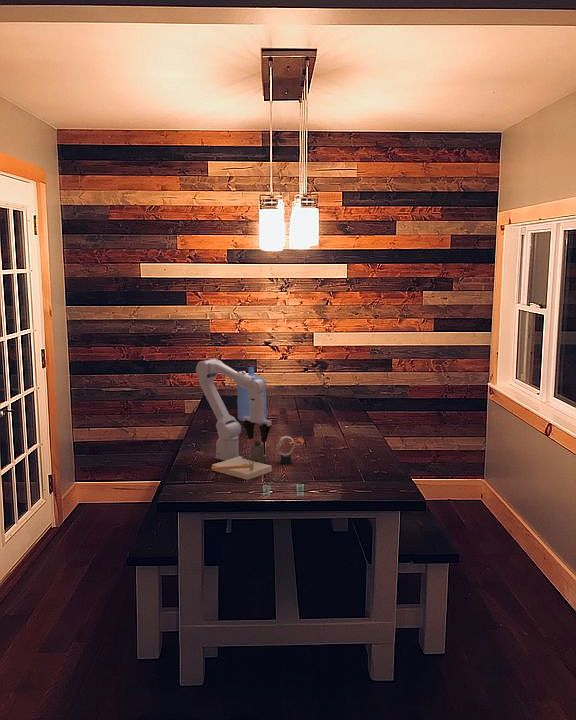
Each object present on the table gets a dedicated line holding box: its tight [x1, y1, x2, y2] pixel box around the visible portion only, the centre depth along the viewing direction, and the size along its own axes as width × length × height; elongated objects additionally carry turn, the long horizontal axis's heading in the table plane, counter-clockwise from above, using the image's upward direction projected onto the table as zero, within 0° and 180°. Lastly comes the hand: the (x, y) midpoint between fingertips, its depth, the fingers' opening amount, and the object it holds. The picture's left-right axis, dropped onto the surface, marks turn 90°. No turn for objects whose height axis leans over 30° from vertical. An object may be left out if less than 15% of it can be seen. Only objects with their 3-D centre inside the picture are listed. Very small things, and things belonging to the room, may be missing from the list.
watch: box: [275, 435, 296, 465], centre depth 289 cm, size 6×8×11 cm
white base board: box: [211, 457, 273, 481], centre depth 279 cm, size 20×14×2 cm
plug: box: [246, 440, 269, 464], centre depth 288 cm, size 6×6×10 cm
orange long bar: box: [211, 463, 254, 471], centre depth 270 cm, size 16×2×2 cm, turn 100°
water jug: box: [236, 366, 268, 422], centre depth 368 cm, size 16×16×28 cm
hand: (257, 440), depth 287 cm, fingers open, 7 cm apart
